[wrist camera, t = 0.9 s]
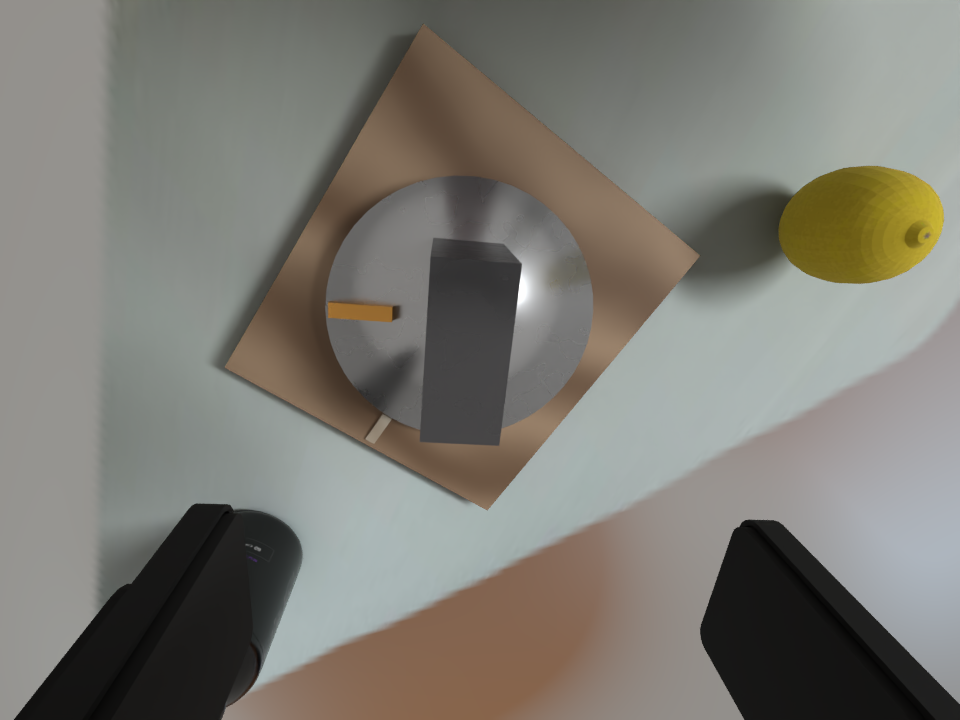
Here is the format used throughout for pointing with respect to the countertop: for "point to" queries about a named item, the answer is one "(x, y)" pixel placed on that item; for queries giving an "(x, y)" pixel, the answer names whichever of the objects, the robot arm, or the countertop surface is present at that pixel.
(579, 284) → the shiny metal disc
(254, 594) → the supplement bottle
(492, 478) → the dial base
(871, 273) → the lemon
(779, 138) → the countertop surface
